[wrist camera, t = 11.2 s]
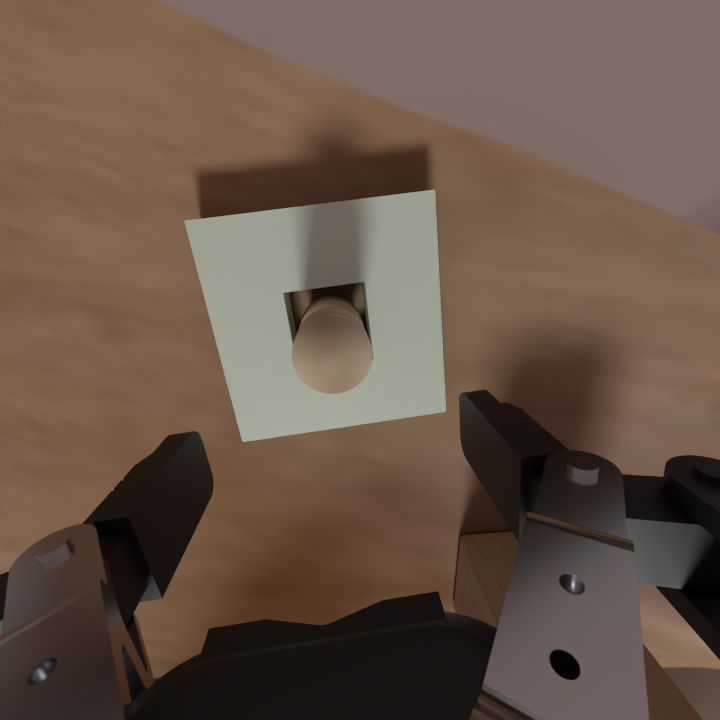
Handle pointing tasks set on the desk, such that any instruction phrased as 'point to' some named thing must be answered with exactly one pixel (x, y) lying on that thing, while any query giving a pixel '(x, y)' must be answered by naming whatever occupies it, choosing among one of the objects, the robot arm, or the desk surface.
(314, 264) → the seat board
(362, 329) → the peg
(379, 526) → the desk surface
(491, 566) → the wooden block
